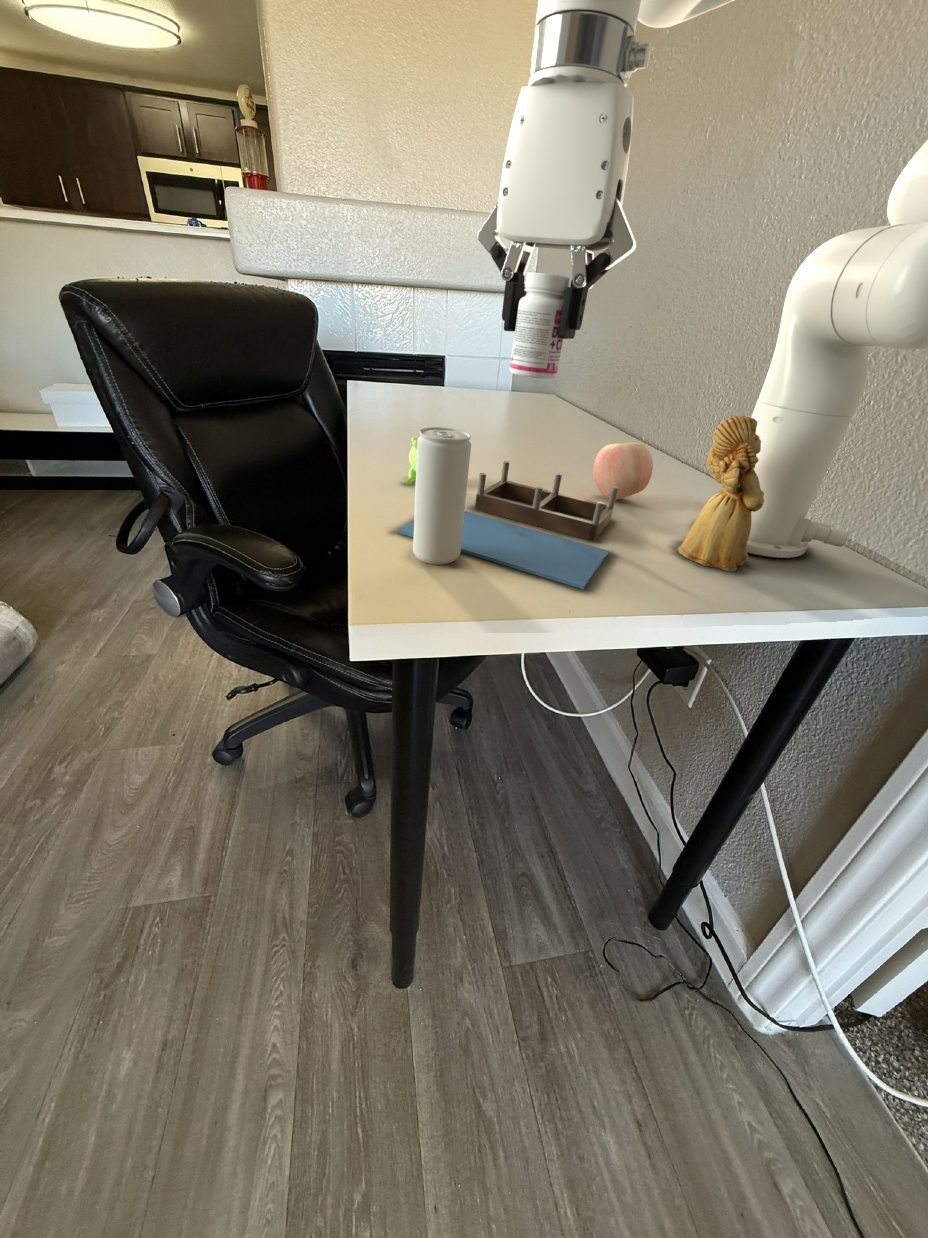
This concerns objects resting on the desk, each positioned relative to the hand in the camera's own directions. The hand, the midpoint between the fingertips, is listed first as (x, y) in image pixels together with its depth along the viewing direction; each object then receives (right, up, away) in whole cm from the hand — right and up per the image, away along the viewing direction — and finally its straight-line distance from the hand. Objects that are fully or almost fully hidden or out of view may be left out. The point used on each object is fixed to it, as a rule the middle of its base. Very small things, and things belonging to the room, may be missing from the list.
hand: (539, 332), depth 50 cm
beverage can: (-10, -21, +3) cm, 24 cm away
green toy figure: (-12, -8, +24) cm, 28 cm away
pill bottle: (0, -3, +2) cm, 4 cm away
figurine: (+21, -20, +10) cm, 31 cm away
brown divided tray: (+3, -14, +16) cm, 21 cm away
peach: (+14, -10, +25) cm, 30 cm away
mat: (-3, -19, +7) cm, 21 cm away
